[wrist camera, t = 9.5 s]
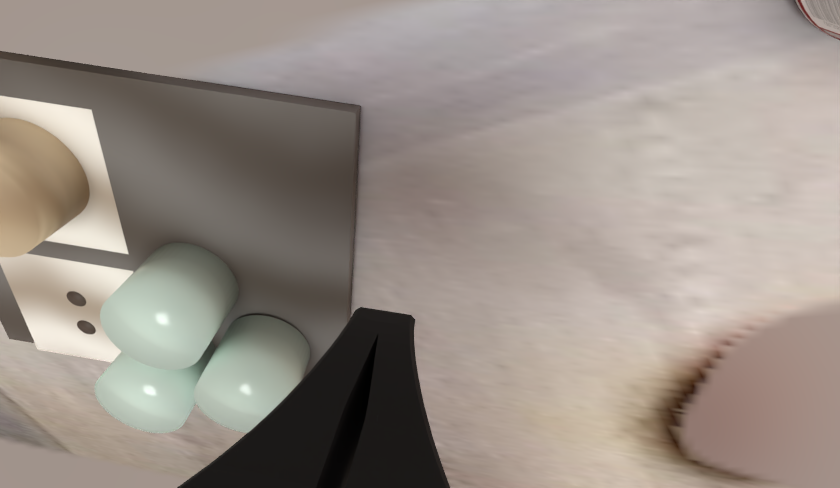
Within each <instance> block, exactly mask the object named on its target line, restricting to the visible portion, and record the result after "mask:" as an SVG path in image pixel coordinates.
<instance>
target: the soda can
mask: <svg viewBox="0 0 840 488" xmlns="http://www.w3.org/2000/svg"><path fill="white" fill-rule="evenodd" d="M795 1H796V3H797V5H798V7H799V9H800V10H801V11H802V13H803V14H804V16H805V17H806V18H807V19H808V20H809V21H810V22H811V23H812V24H813V25H814V26H815V27H817V28H818V29H819V30H821V31H822V32H824V33H826V34H827V35H829V36H832V37H834V38H836V39H839V40H840V0H795Z"/></svg>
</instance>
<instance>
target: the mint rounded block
mask: <svg viewBox="0 0 840 488" xmlns="http://www.w3.org/2000/svg"><path fill="white" fill-rule="evenodd" d="M215 350H216V347H215V345H214V343H213V342H212V341H211V342H210V344H209V345H208V347H207V348H206V350H205V351H204V353H203V355H202V356H201V358H200V359H199V360H198V361H197V362H196V363H195V364H194V365H192V366H190V367H187V368H184V369H179V370H165V369H159V368H154V367H151V366H148V365H145V364H143V363H140V362H138V361H136V360H134V359H133V358H131V357H129V356H128V355H126V354H125V353H123V352H122V351H121V352H120V354H119V355H118V356H117V357H116V359H115V360H114V361H113V362H112V363H111V365H110V366H109V367H108V368H107V369H106V371H105V372H104V373H103V374H102V375H101V377H100V378H99V379H98V380H97V382H96V384H95V394H96V397H97V399H98V401H99V403H100V404H101V406H102V407H103V408H104V409H105V410H106V411H107V412H108V413H109V414H110V415H112V416H113V417H114V418H116V419H117V420H119V421H120V422H122V423H124V424H126V425H128V426H130V427H133V428H135V429H138V430H142V431H146V432H151V433H169V432H173V431H175V430H178V429H179V428H181V427H182V426H183V424H184V423H185V421H186V419H187V418H188V416H189V414H190V413H191V411H192V409H193V408H194V406H195V404H196V402H195V399H194V389H195V386H196V384H197V383H198V381H199V379H200V377H201V375H202V374H203V372H204V370H205V368H206V366H207V365H208V363H209V361H210V359H211V357H212V356H213V354H214V352H215Z"/></svg>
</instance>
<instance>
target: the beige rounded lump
mask: <svg viewBox="0 0 840 488" xmlns="http://www.w3.org/2000/svg"><path fill="white" fill-rule="evenodd" d="M88 201H89V184H88V180H87V177H86V174H85V172H84V170H83V168H82V166H81V164H80V163H79V161H78V160H77V158H76V157H75V156H74V154H73V153H72V152H71V151H70V150H69V149H68V148H67V147H66V146H65V144H63V143H62V142H61V141H60V140H59V139H58V138H56V137H55V136H54V135H52V134H51V133H49V132H48V131H46V130H45V129H43V128H41V127H39V126H37V125H35V124H33V123H30V122H28V121H24V120H21V119H15V118H0V257H17V256H21V255H24V254H26V253H27V252H29V251H30V250H32V249H33V248H35V247H36V246H37V245H39V244H40V243H41V242H43V241H44V240H45V239H47V238H48V237H49V236H51V235H52V234H53V233H55V232H56V231H57V230H59V229H60V228H61V227H63V226H64V225H66V224H67V223H68V222H70V221H71V220H72V219H74V218H75V217H76V216H78V215H79V214H80V213H81V212H82V211H83V210H84V209H85V208H86V206H87V204H88Z"/></svg>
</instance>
